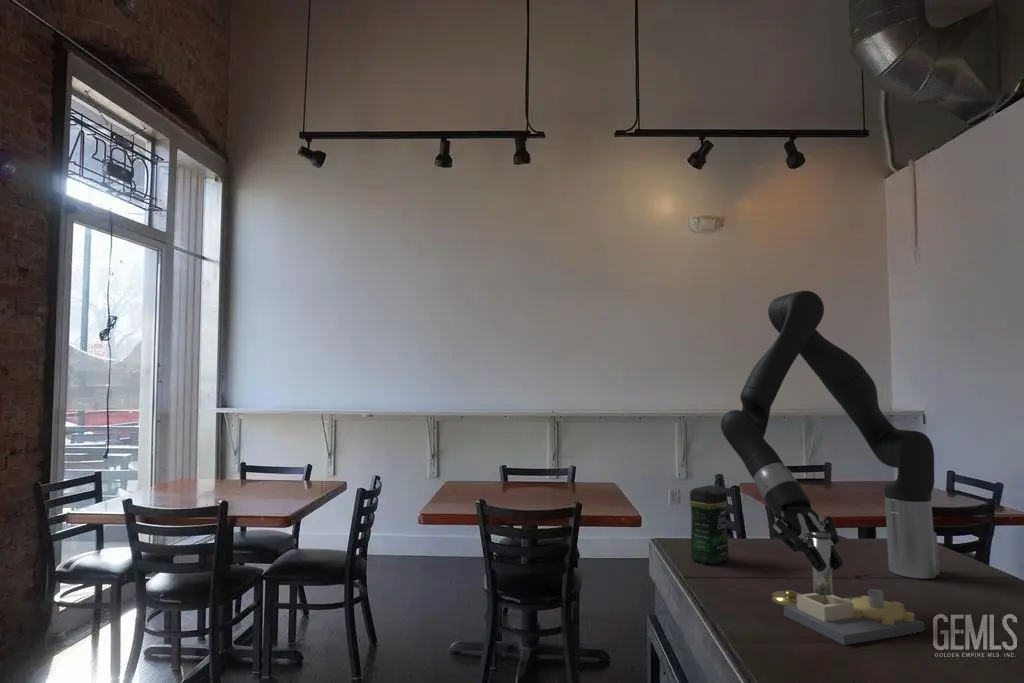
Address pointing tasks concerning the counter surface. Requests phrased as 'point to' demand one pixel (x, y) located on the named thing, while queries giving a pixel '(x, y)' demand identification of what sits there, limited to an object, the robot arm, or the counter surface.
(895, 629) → the gear board
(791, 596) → the brass knob disc
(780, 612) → the counter surface
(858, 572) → the counter surface
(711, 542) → the coffee jar
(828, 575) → the grey cylinder peg
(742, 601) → the counter surface
